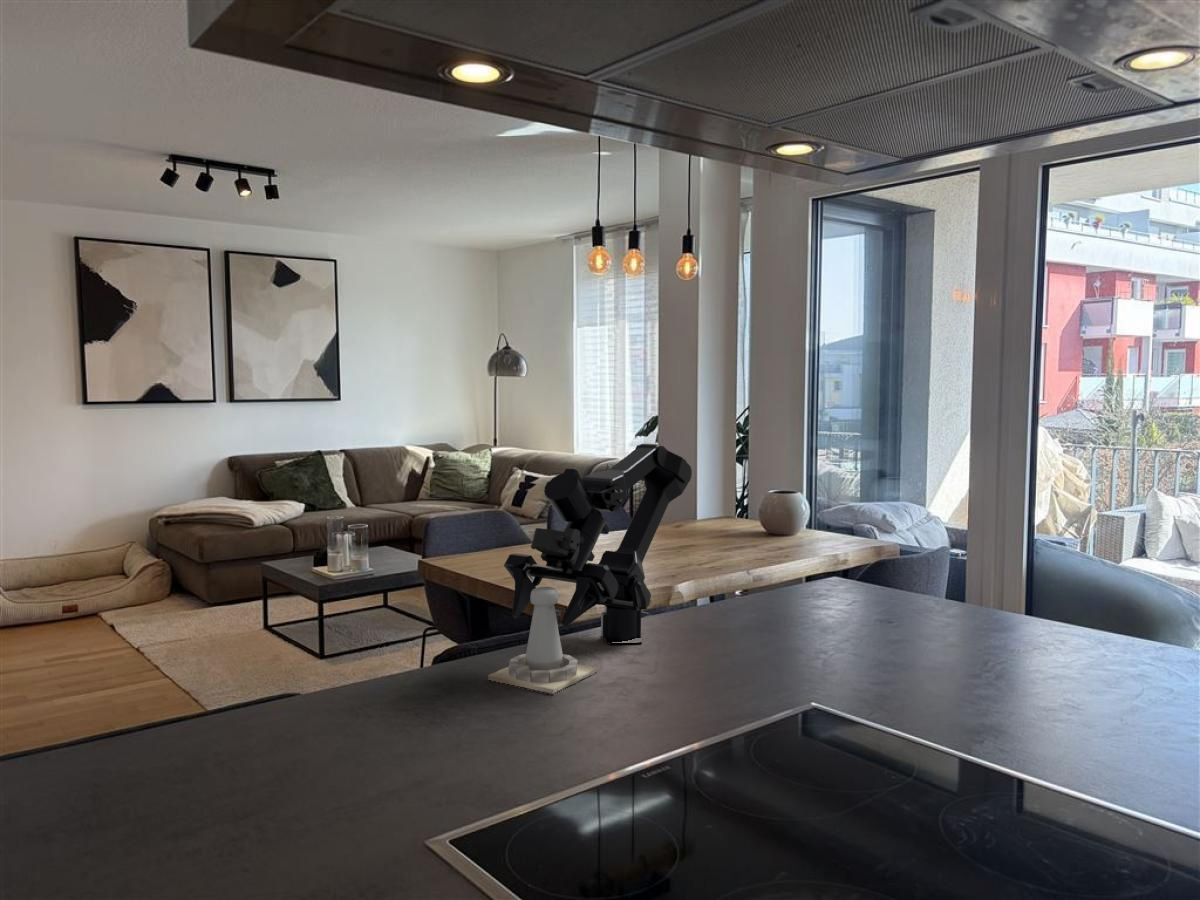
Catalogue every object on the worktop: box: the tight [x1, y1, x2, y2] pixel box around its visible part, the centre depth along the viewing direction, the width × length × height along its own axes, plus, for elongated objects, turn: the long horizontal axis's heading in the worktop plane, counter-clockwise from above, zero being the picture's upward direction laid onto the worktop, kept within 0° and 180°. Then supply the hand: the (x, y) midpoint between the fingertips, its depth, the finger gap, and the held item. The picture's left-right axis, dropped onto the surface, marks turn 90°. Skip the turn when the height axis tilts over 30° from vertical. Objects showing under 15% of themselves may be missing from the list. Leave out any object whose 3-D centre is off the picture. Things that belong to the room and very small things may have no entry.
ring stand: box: [487, 653, 598, 693], centre depth 135 cm, size 12×12×2 cm
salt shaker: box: [525, 586, 564, 670], centre depth 135 cm, size 6×6×13 cm
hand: (538, 620), depth 133 cm, fingers open, 9 cm apart
